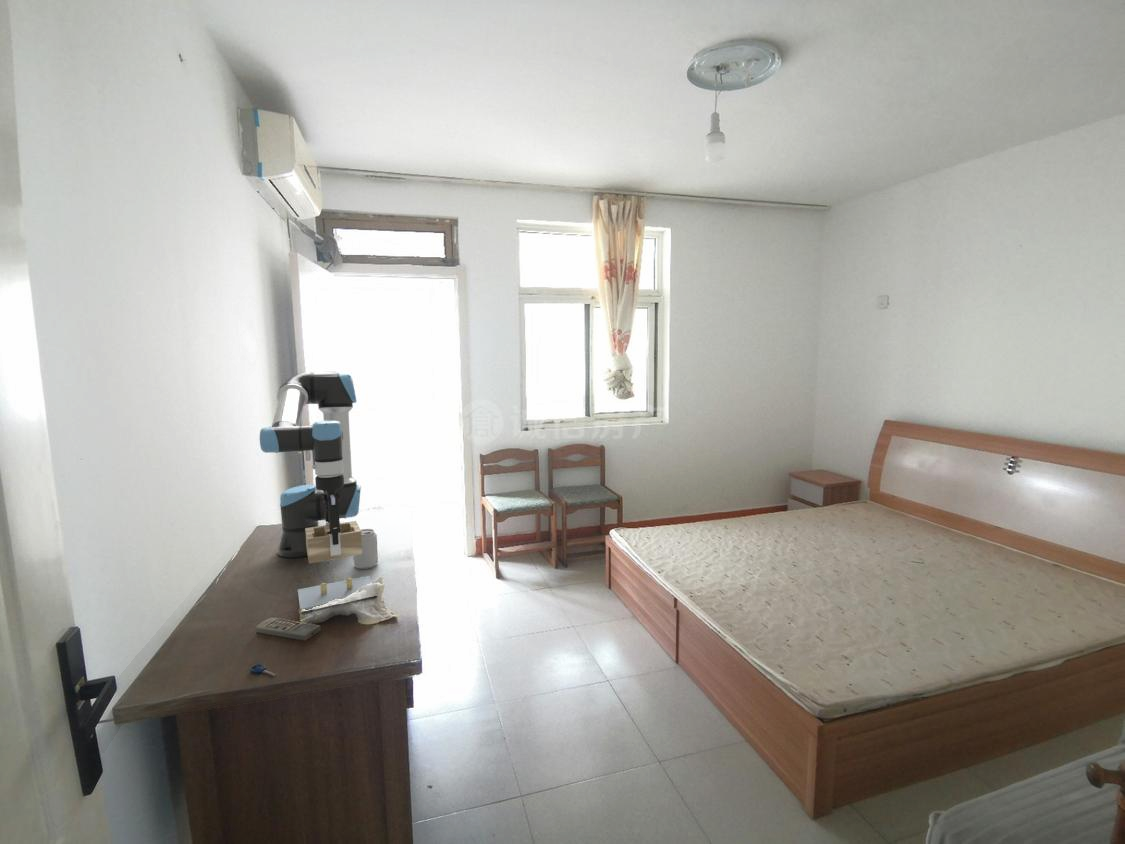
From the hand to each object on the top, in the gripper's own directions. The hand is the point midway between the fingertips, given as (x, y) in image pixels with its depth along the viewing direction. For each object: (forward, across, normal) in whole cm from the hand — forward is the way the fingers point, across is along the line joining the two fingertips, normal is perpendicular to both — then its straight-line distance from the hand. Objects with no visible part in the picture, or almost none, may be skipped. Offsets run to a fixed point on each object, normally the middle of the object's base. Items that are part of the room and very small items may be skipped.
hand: (333, 548), depth 152 cm
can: (+14, -17, +11) cm, 24 cm away
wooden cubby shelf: (+1, 0, 0) cm, 1 cm away
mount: (+13, +2, 0) cm, 14 cm away
